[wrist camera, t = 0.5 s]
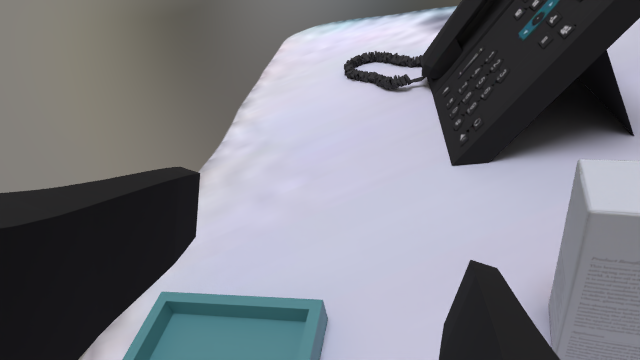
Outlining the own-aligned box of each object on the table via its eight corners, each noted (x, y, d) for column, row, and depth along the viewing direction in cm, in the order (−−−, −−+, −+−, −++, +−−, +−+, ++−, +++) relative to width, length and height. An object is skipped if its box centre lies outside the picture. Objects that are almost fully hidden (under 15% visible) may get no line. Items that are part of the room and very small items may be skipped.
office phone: (345, 64, 67) (323, -84, 55) (539, 38, 63) (561, -131, 51) (338, 179, 44) (298, -35, 32) (645, 150, 40) (731, -112, 28)
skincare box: (654, 318, 27) (729, 160, 20) (674, 384, 24) (772, 225, 16) (544, 303, 29) (576, 155, 22) (549, 362, 26) (588, 212, 19)
